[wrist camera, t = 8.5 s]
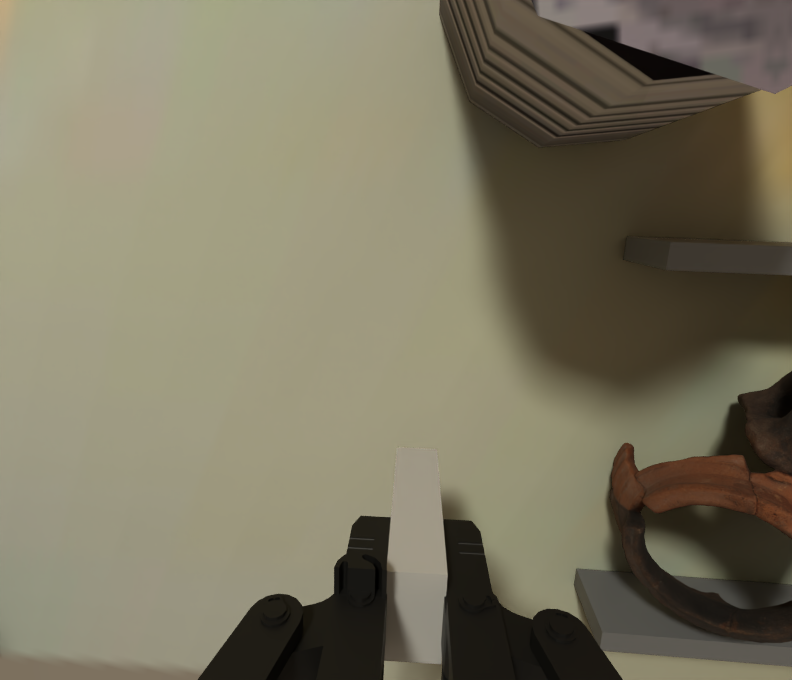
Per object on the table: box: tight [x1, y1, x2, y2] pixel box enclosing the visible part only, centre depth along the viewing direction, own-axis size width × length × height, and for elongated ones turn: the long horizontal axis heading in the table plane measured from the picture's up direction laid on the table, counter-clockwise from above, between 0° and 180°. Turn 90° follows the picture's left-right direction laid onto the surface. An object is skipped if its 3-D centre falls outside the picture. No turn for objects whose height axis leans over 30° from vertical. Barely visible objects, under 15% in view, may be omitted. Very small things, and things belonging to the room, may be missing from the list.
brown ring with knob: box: [610, 371, 792, 643], centre depth 21 cm, size 12×10×8 cm
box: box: [574, 236, 792, 667], centre depth 21 cm, size 12×18×4 cm
